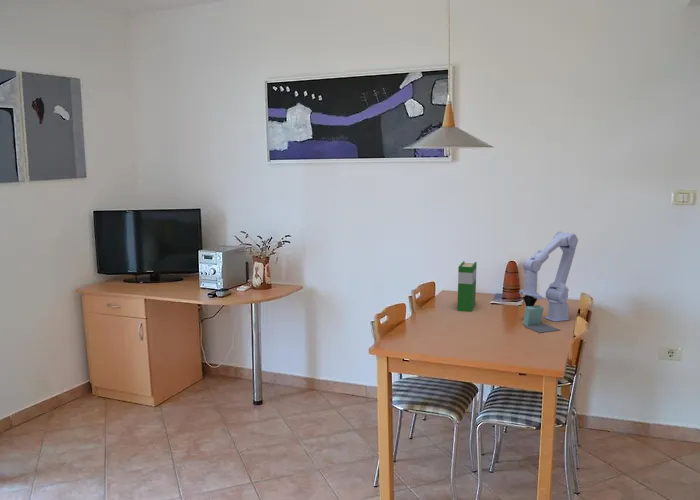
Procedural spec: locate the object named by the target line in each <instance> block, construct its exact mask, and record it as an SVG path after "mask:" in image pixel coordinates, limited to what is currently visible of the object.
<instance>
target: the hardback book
mask: <svg viewBox="0 0 700 500" xmlns="http://www.w3.org/2000/svg"><path fill="white" fill-rule="evenodd" d="M457 270H458V274H457V279H458V280H457V306H456V309H457V312H464V313H465V312H467V313H472V312H473V310H474V309H475V306H476V296H477V295H476V293H477V292H476V290H477V261H474V263H473V262H472V263H471V262H465V261H462V262H461V263H460V264H459V266H458V269H457Z"/></svg>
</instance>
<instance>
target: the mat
mask: <svg viewBox="0 0 700 500" xmlns="http://www.w3.org/2000/svg"><path fill="white" fill-rule="evenodd" d="M524 328H526V329H527V330H531V331H532V332H533V331H534V332H535V333H538V334H543V333H551V332H558V331H559V332H560V331H561V329H560V328H557V327H554V326H551V325H548V324H546V323H541V324H540V325H532V326H525V325H524Z"/></svg>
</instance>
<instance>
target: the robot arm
mask: <svg viewBox="0 0 700 500" xmlns="http://www.w3.org/2000/svg"><path fill="white" fill-rule="evenodd" d="M578 242H579V239H578V236H577V234H575V233H569V232H562V231H557V232H556V233H555V234H554V235H553V238H552V240H551V241H550V242H549V243H548V244H547V245H546V246H545V247H544V248H543V249H542V248H541V249H538V250H537V252H535V253H534V255H532V256H531V257H530V258H527V259H525V261H524V262H523V264H522V268H523V271H524V289H519V292H518V294H519V295H524V296H522V299H523V300H524V304H525V307H527V306H535V303H536V302H537V301H538V300H539V301H541V300H543V295H541V294H539V293H538V291H537V290H538V274H539V273H538V272H539V271H540V270H541V267H542V265H543V264H544V263H545V262H546V261H547V260H548V259H549V257H550V254H552V253H553V252H554V251H555V250H556V249H557V248H560V249H561V251H562V255H561V257H560V261H559V264H558V268H557V271H556V274H555V279H554V280H553V282H551V283H549V286H548V288H547V289H546V291H545V298H546V299H547V301H548V313H547V314H548V316H544V317H543V318H544V319H546V320H549V321H552V322H561V321H563V322H564V321H568V320H569V321H570V318H569V309H570V306H569V304H568V302H567V300H568V298H569V288H568V287H567V285H566V284H567V280H568V277H569V274H570V269H571V266H572V263H573V261H574V260H573V259H574V257H575V254H576V249H577V246H578Z"/></svg>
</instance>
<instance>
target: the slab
mask: <svg viewBox="0 0 700 500" xmlns="http://www.w3.org/2000/svg"><path fill="white" fill-rule="evenodd" d="M543 313H544V307H543V306H541V305H537V304H536V305H534V306H527V307H526V306H525V308H524V313H523V320H522V324H523V325H524V327H525V326H532V325H540V324H542V321H543V319H542V318H543Z"/></svg>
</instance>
